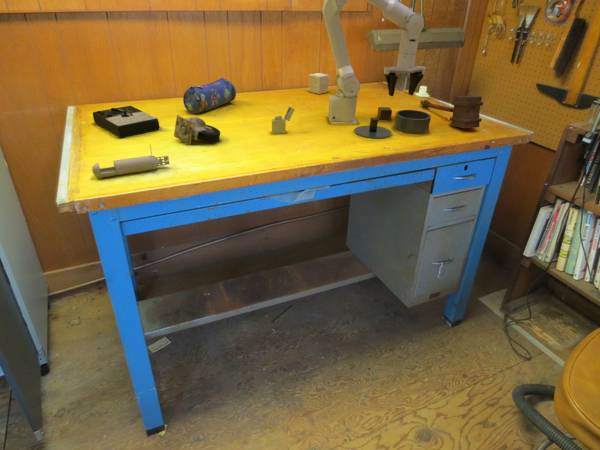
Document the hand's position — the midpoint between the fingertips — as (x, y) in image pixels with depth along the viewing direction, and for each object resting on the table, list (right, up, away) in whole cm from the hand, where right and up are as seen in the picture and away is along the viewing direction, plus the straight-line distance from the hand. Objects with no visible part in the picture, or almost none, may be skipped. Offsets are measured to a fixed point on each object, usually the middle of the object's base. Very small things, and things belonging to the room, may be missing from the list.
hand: (400, 95), depth 145 cm
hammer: (+18, -6, +10) cm, 21 cm away
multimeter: (-91, -14, -11) cm, 92 cm away
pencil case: (-68, -2, +11) cm, 69 cm away
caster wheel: (-65, -20, -19) cm, 70 cm away
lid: (-11, -15, -10) cm, 21 cm away
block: (-5, -7, +5) cm, 10 cm away
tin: (+2, -13, -4) cm, 14 cm away
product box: (-27, +13, +37) cm, 47 cm away
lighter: (-40, -15, -10) cm, 44 cm away
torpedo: (-77, -32, -40) cm, 92 cm away
